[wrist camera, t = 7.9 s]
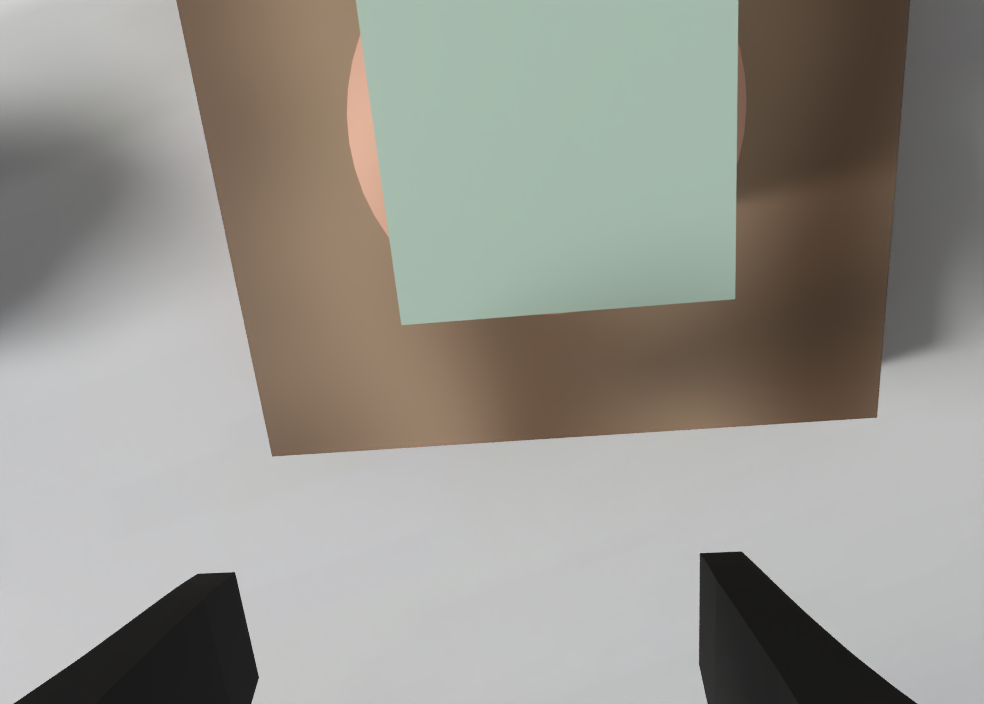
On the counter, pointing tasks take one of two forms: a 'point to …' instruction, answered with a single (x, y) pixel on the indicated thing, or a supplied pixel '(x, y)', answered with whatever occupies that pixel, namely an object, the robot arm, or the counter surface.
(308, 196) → the walnut base
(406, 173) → the sage block
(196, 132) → the counter surface
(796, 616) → the robot arm
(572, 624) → the counter surface
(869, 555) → the counter surface
